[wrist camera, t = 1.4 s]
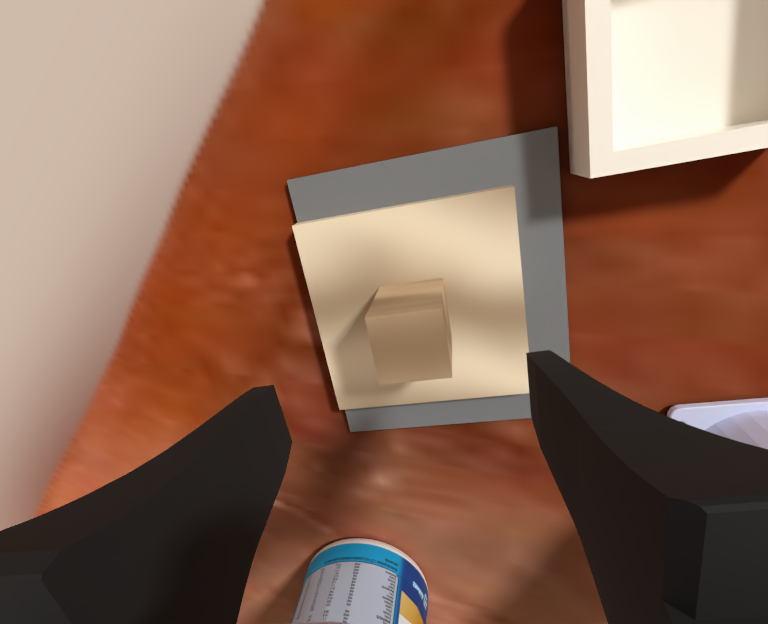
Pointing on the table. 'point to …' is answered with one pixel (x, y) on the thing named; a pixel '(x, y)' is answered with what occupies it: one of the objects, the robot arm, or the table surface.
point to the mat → (451, 177)
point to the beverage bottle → (362, 585)
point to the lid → (420, 299)
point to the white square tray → (663, 81)
